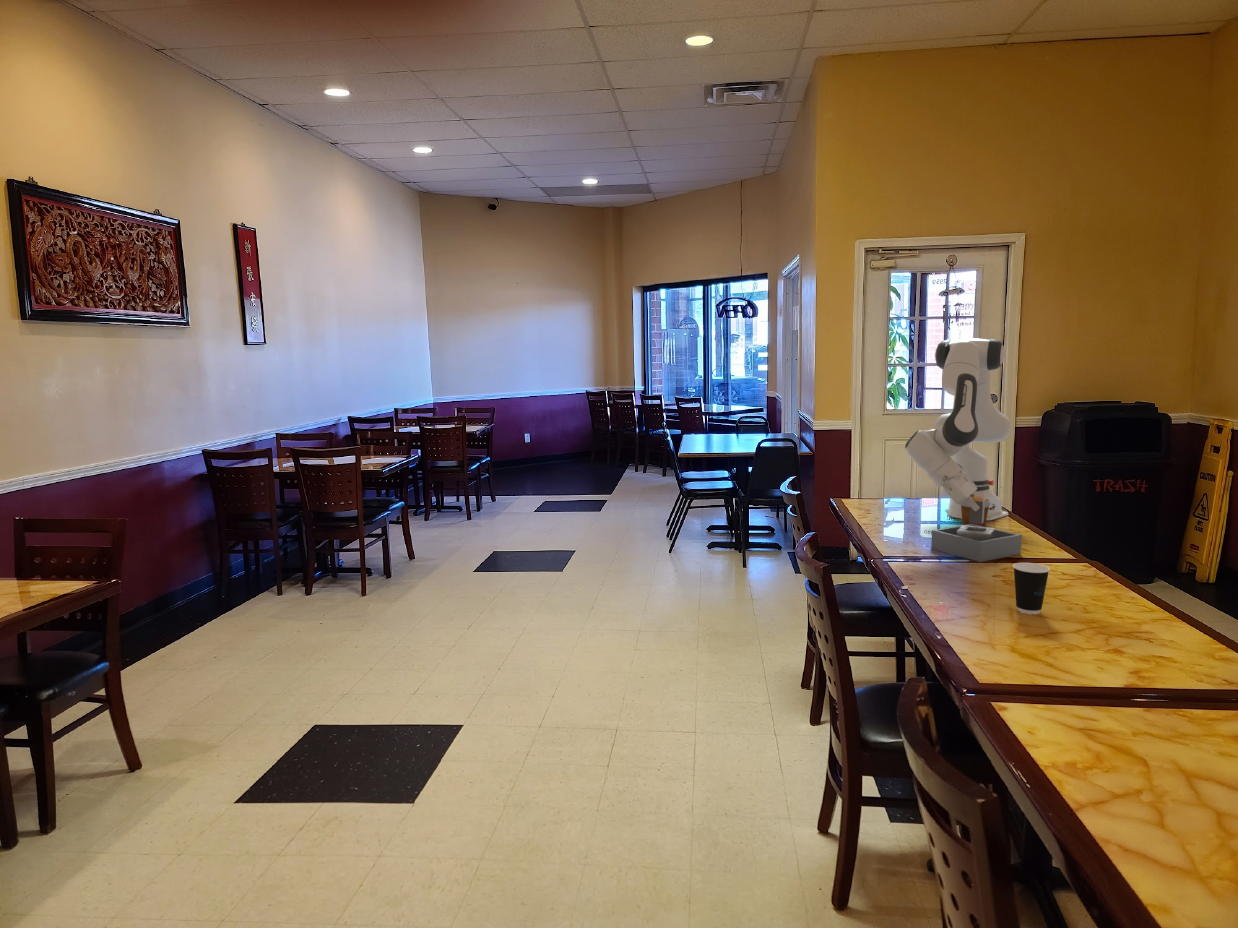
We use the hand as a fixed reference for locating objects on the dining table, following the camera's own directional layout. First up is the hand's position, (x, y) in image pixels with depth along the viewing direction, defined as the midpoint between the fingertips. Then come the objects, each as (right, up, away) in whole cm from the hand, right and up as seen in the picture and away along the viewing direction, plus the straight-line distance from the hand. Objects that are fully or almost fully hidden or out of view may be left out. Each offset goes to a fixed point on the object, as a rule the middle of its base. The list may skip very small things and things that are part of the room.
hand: (979, 508), depth 237 cm
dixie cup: (-13, -22, -52) cm, 58 cm away
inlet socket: (0, -14, +2) cm, 14 cm away
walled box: (0, -14, +2) cm, 14 cm away
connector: (-1, -5, +1) cm, 5 cm away
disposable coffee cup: (+10, -10, +25) cm, 29 cm away
